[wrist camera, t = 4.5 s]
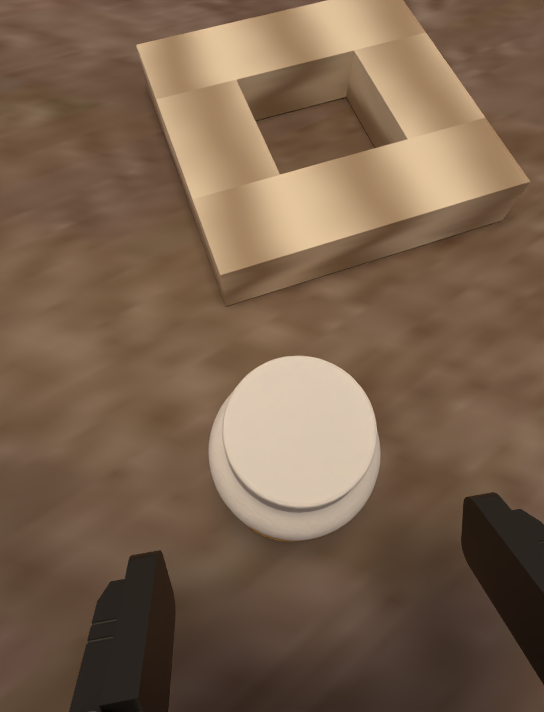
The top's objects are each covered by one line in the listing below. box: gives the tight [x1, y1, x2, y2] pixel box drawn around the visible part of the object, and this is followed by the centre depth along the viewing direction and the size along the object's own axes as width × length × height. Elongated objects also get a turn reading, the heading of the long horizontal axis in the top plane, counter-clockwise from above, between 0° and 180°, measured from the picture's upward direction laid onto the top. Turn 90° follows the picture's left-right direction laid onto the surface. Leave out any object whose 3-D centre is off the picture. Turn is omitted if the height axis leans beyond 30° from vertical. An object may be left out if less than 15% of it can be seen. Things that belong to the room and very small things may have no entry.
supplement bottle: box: [209, 356, 380, 542], centre depth 17 cm, size 5×5×10 cm
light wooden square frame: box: [136, 0, 530, 306], centre depth 27 cm, size 16×16×3 cm
